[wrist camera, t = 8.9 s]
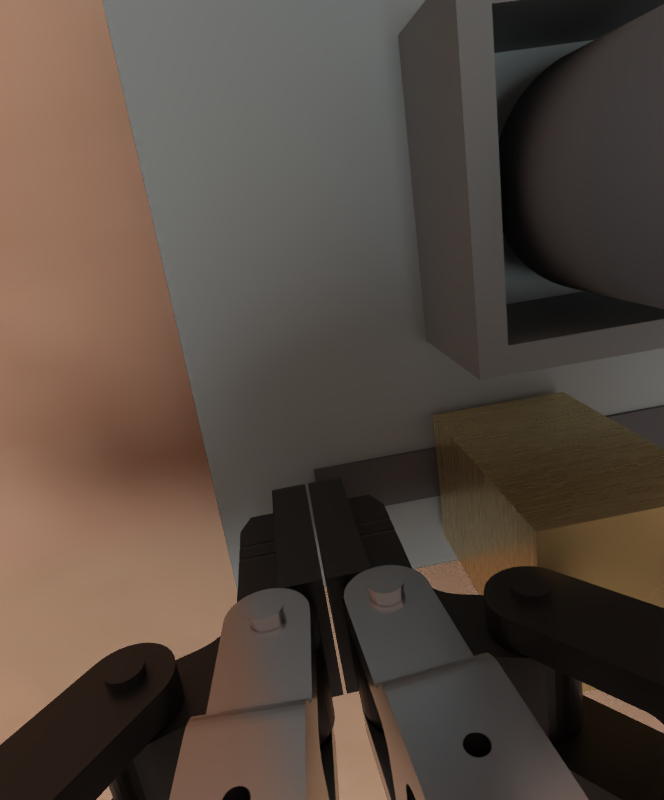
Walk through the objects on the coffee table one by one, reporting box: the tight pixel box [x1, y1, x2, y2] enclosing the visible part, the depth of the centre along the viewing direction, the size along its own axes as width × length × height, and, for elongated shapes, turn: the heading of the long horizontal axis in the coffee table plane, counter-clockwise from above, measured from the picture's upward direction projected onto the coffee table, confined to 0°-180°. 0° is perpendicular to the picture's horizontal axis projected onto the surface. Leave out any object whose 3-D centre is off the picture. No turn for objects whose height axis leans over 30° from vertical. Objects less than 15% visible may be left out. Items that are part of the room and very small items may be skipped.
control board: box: [102, 0, 664, 591], centre depth 11 cm, size 17×17×6 cm
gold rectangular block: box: [432, 392, 664, 692], centre depth 11 cm, size 3×3×5 cm
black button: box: [499, 4, 664, 309], centre depth 9 cm, size 4×4×3 cm
